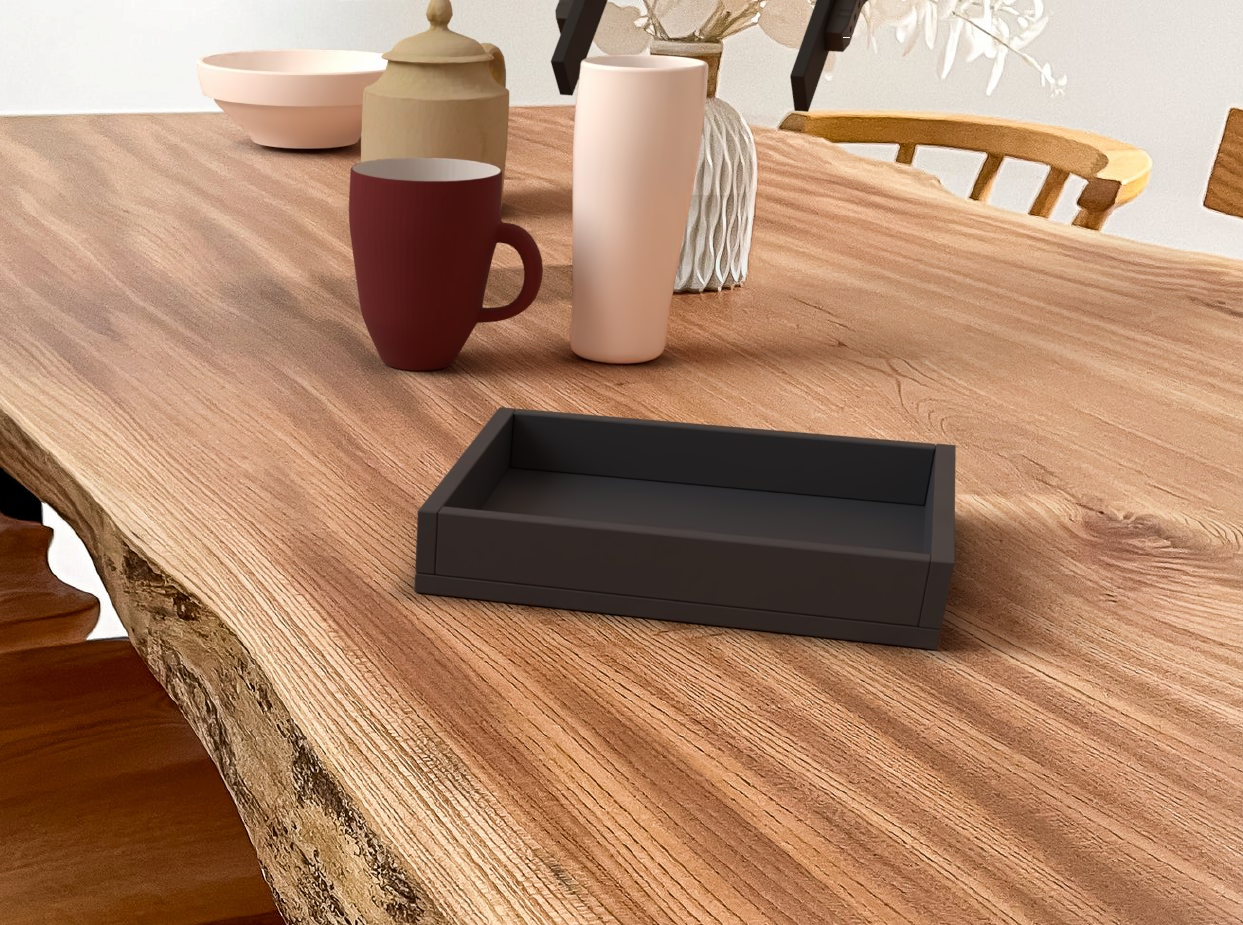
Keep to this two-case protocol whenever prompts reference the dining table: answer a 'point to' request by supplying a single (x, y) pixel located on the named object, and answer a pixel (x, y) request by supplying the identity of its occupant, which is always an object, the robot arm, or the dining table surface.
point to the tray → (698, 525)
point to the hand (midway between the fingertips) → (677, 86)
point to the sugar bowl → (438, 98)
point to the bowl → (293, 93)
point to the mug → (430, 255)
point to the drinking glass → (631, 198)
